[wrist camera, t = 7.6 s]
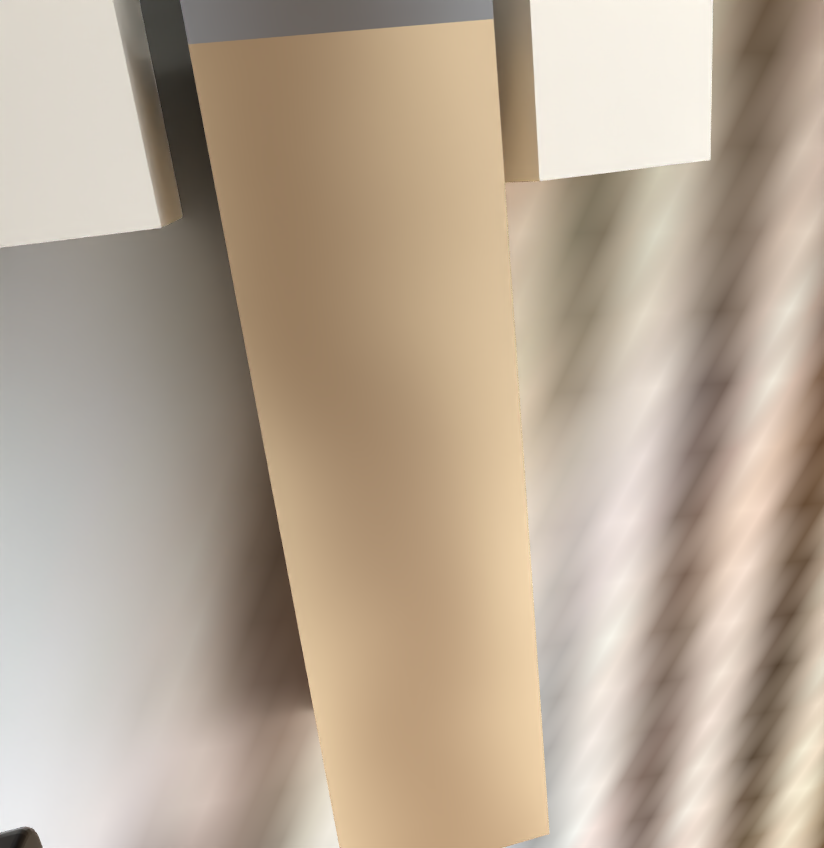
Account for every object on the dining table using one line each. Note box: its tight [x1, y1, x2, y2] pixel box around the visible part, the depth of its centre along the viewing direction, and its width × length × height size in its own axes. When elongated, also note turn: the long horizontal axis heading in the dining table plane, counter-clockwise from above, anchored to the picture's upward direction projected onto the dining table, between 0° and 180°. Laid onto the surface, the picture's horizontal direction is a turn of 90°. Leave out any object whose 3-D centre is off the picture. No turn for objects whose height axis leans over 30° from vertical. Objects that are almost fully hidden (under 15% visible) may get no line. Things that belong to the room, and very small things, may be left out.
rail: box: [180, 0, 549, 848], centre depth 15 cm, size 4×16×6 cm, turn 7°
